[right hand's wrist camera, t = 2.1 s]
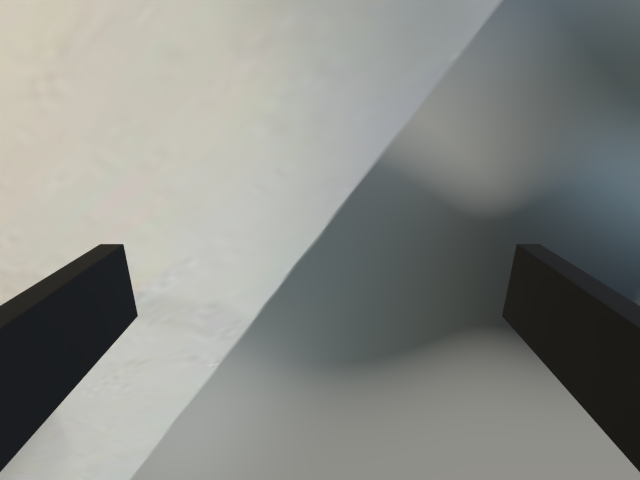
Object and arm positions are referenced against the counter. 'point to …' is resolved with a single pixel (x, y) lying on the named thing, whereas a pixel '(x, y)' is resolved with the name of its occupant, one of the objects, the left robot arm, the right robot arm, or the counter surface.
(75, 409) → the counter surface
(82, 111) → the counter surface
